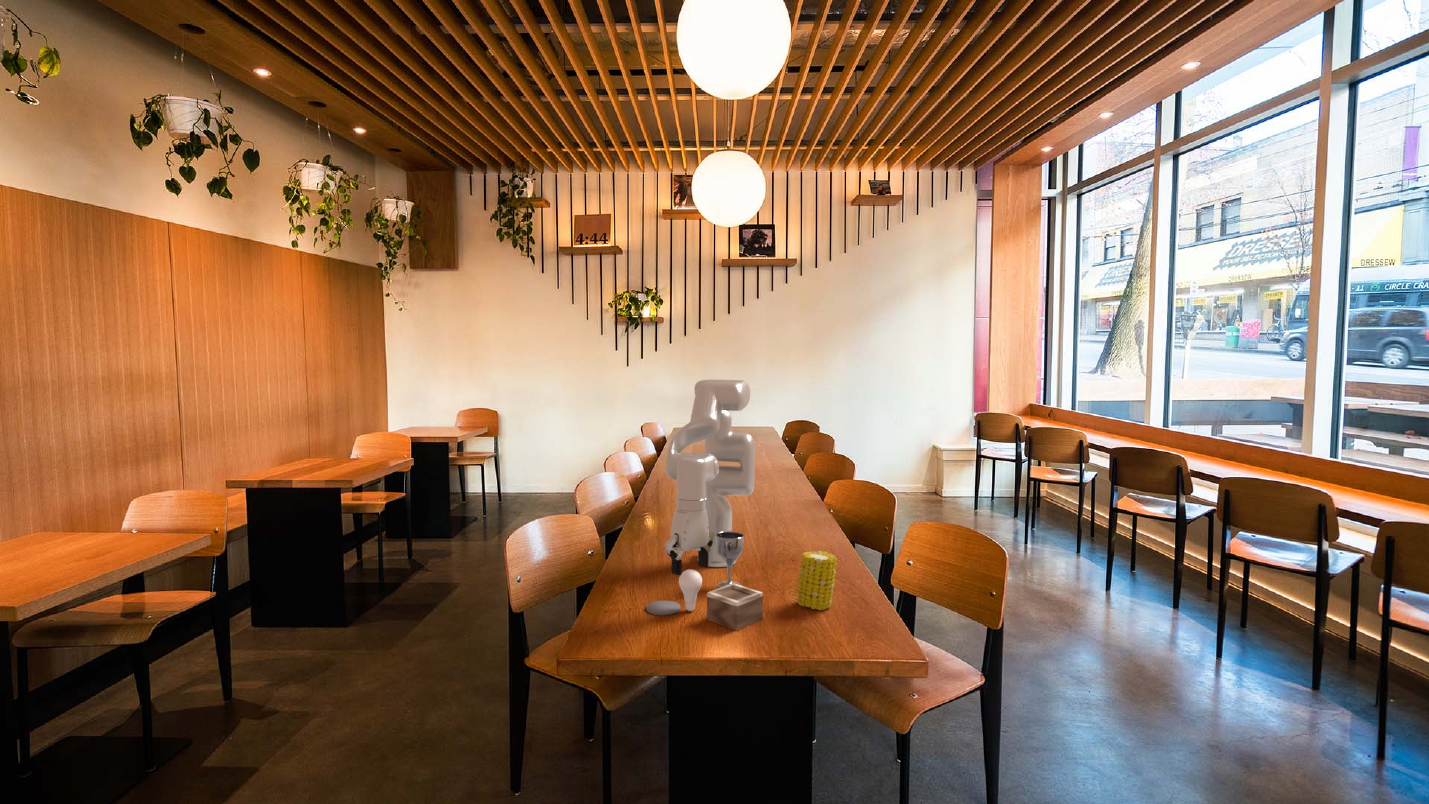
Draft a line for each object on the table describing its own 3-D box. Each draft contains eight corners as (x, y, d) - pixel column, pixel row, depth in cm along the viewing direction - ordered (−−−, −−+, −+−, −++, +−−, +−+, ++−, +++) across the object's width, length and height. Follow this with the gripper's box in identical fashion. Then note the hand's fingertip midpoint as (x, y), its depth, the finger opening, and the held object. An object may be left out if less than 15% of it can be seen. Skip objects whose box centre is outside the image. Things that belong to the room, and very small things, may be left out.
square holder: (706, 619, 168) (707, 592, 168) (733, 609, 176) (733, 583, 175) (736, 630, 161) (736, 602, 161) (762, 619, 169) (762, 592, 168)
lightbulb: (678, 607, 177) (678, 566, 176) (701, 606, 177) (701, 566, 176) (678, 615, 170) (679, 573, 170) (702, 615, 171) (703, 573, 170)
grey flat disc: (639, 611, 173) (639, 609, 173) (658, 600, 181) (658, 598, 181) (668, 618, 169) (668, 615, 169) (686, 606, 177) (686, 604, 177)
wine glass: (746, 582, 196) (746, 532, 195) (738, 591, 189) (739, 539, 188) (720, 579, 199) (721, 530, 198) (711, 588, 191) (712, 536, 190)
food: (792, 606, 182) (826, 606, 184) (806, 612, 171) (843, 612, 173) (791, 549, 185) (825, 549, 187) (806, 552, 173) (842, 552, 175)
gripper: (703, 498, 181) (702, 561, 181) (656, 507, 168) (655, 574, 169) (724, 502, 176) (723, 566, 176) (676, 511, 163) (675, 580, 164)
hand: (690, 570), depth 172 cm, fingers open, 9 cm apart
